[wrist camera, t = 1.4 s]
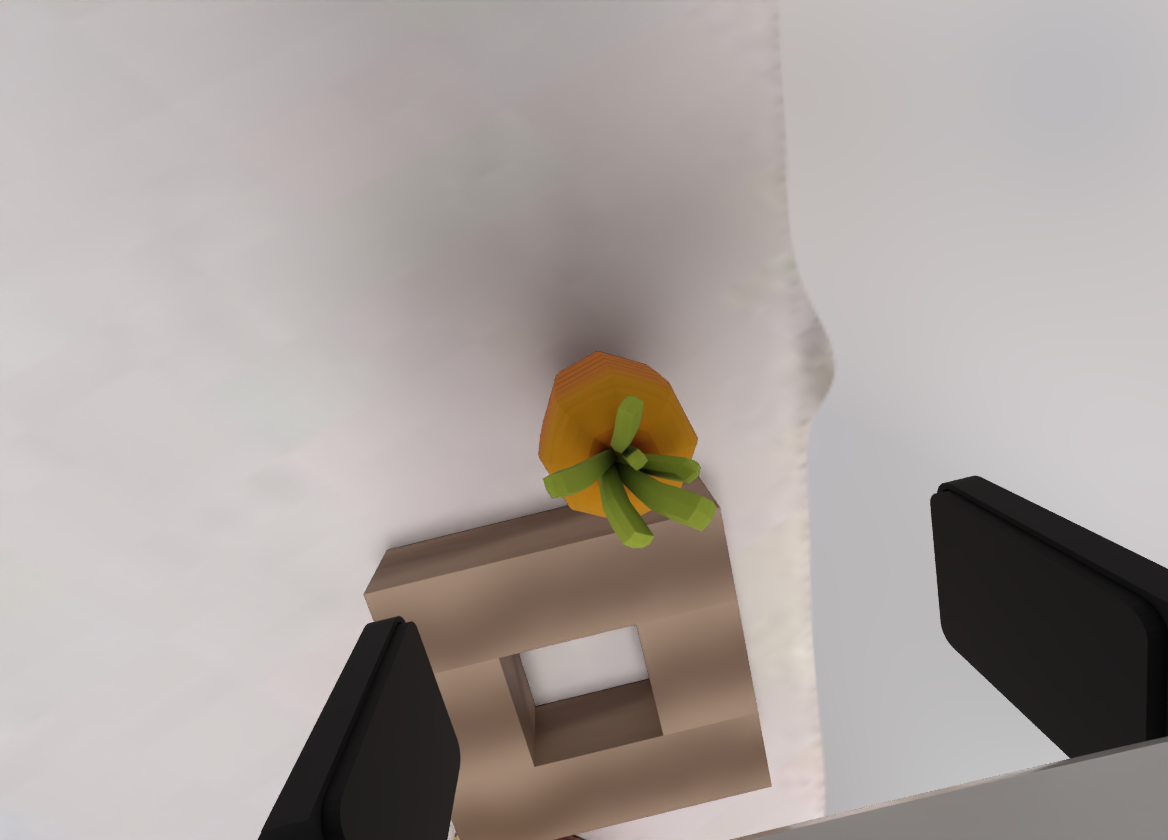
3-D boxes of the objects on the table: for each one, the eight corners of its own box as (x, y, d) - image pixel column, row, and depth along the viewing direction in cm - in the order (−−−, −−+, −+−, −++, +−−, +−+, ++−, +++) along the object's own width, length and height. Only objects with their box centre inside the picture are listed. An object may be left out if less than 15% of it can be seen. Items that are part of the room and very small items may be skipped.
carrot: (518, 388, 28) (491, 533, 14) (584, 304, 27) (630, 363, 13) (600, 449, 29) (655, 643, 15) (666, 370, 28) (794, 493, 14)
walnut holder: (386, 550, 30) (363, 594, 26) (697, 474, 30) (719, 507, 26) (476, 792, 34) (467, 860, 30) (746, 726, 34) (771, 786, 30)
